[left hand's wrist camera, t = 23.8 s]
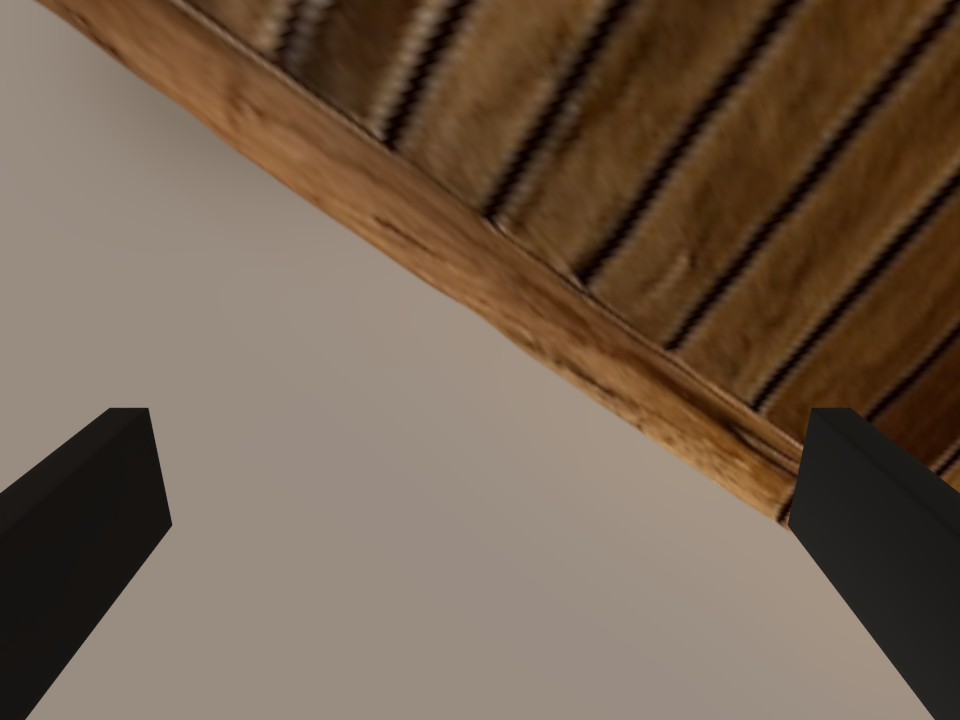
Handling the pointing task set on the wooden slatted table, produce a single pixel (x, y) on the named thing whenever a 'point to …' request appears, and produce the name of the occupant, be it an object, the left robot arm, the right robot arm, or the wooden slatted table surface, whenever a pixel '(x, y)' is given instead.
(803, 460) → the left robot arm
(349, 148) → the wooden slatted table surface
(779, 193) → the wooden slatted table surface
